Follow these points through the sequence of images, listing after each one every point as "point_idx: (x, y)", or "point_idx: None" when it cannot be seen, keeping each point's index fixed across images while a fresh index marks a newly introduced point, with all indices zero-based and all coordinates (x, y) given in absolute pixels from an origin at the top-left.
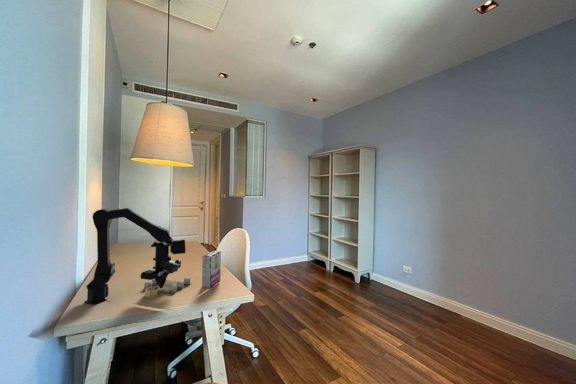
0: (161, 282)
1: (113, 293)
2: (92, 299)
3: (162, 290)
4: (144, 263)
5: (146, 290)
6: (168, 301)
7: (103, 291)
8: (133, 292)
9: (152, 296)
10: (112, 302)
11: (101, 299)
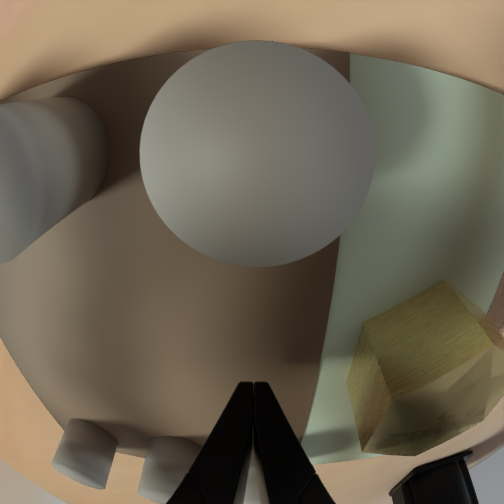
0: (307, 468)
1: (350, 492)
2: (468, 473)
3: (256, 345)
4: (62, 497)
5: (487, 410)
6: (491, 43)
7: (452, 499)
8: (325, 466)
9: (474, 306)
10: (463, 433)
11: (451, 468)
